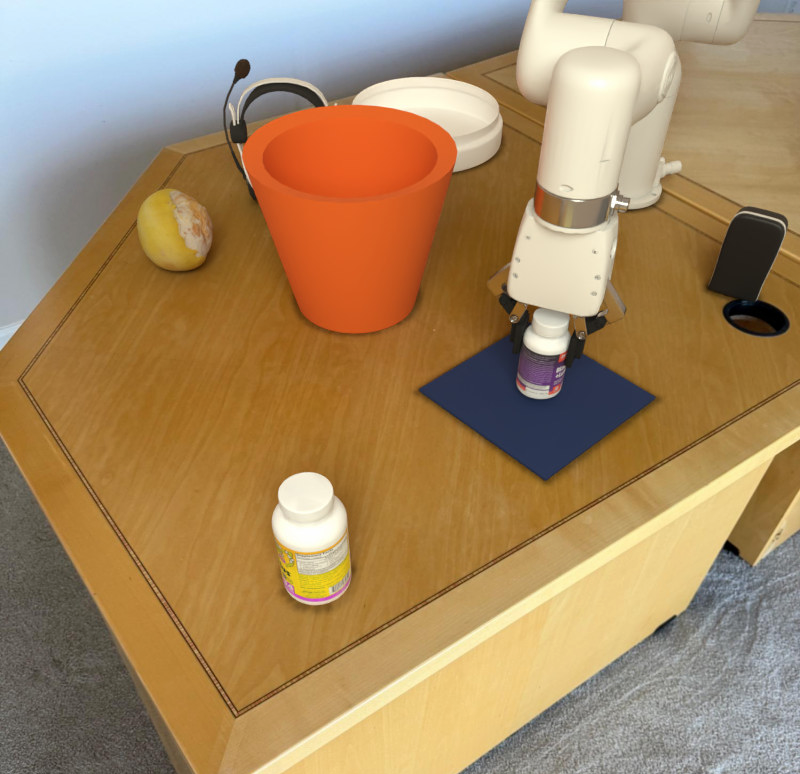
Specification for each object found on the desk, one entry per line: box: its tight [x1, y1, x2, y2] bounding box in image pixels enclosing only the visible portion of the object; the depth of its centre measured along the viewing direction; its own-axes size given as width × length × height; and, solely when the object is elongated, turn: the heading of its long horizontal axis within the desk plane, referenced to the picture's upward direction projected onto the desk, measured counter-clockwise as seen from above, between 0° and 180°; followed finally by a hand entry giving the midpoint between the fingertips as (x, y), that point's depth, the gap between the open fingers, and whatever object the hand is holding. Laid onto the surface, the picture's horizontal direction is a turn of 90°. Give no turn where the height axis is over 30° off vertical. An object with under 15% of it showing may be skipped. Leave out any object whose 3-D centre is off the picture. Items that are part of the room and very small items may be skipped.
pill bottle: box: [516, 307, 572, 399], centre depth 87 cm, size 5×5×10 cm
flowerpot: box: [242, 104, 458, 335], centre depth 96 cm, size 25×25×20 cm
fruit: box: [136, 188, 214, 272], centre depth 105 cm, size 10×11×10 cm
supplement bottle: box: [271, 471, 352, 606], centre depth 69 cm, size 7×7×13 cm
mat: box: [418, 321, 656, 482], centre depth 91 cm, size 20×20×1 cm
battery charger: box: [707, 205, 789, 303], centre depth 101 cm, size 7×4×11 cm, turn 60°
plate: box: [351, 76, 504, 173], centre depth 133 cm, size 27×27×6 cm
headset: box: [222, 58, 338, 201], centre depth 113 cm, size 17×8×20 cm, turn 91°
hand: (544, 352), depth 87 cm, fingers closed on pill bottle, 5 cm apart
